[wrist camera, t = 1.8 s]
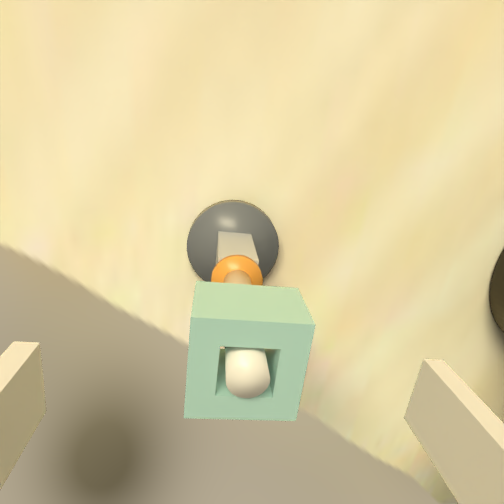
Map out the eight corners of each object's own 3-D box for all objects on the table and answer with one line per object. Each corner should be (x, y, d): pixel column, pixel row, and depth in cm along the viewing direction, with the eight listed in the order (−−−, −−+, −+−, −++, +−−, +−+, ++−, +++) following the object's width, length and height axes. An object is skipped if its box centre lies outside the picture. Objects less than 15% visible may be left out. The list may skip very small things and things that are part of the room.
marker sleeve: (298, 288, 15) (315, 324, 13) (283, 371, 17) (295, 421, 14) (195, 280, 15) (190, 317, 12) (189, 367, 16) (183, 418, 14)
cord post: (282, 204, 27) (358, 302, 12) (270, 286, 29) (322, 452, 14) (190, 195, 26) (153, 288, 11) (185, 280, 28) (149, 450, 13)
